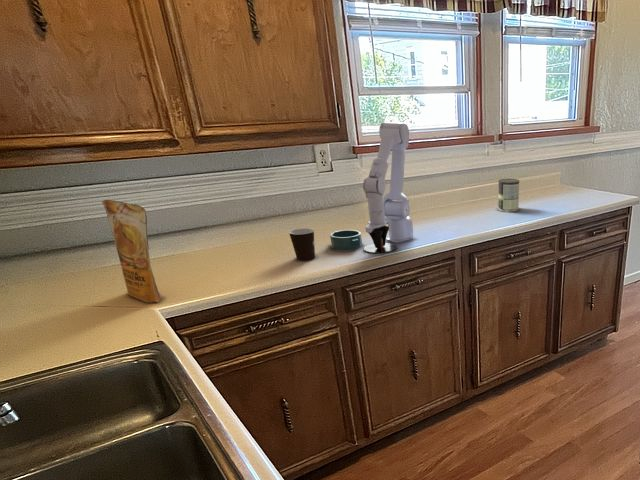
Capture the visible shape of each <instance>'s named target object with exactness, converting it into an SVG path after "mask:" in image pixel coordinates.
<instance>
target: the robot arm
mask: <svg viewBox="0 0 640 480" xmlns="http://www.w3.org/2000/svg"><path fill="white" fill-rule="evenodd" d="M378 133H379V137H380V143H379V147H378V152H377V157H376V158H374V159H373V160H372V163H371V167H370V169H369V172H368V176H367V177H366V178H364V180H363V183H362V189H363V191H364V194H365V198H366V199H367V207H368V216H369V217H368V218H369V221H368V222H367V226H365V233H368V235H369V236H370V238H371V239H372V242H373V244H374V245H375V248H381V238H383V246H385V243H387V242H386V241H387V240H388V241H390V242H393V243H400V242H405V241H409V240H410V241H411V240H414V239H415V237H414V225H413V220H412V218H411V217H410V216H409V215H410V212H411V208H410V199H409V198H408V196H406V195H405V194H404V181H405V164H406V151H407V150H406V149H407V148H409V143H410V128H409V125H408V124H407V123H406V122H405V121H403V122H393V121H392V122H391V121H390V122H387V121H382V122H381V123H380V124H379V130H378ZM390 154H391V165H390V181H389V182H390V183H389V192H388V193H386V195H384V193H385V191H386V176H387V172H388V170H389V169H388V168H389V163H388V159H389V156H390ZM387 235H388V237H387Z"/></svg>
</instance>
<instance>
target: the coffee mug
mask: <svg viewBox="0 0 640 480" xmlns="http://www.w3.org/2000/svg"><path fill="white" fill-rule="evenodd" d="M288 234H289V237H290V241H291V244H292V247H293V250H294V253H295V256H296V259H297V261H300V262H308V261H312V260H315V259H316V252H315V251H316V248H315V245H316V244H315V230H314V229H313V228H309V227H308V228H307V227H305V228H295V229H291V230H289V231H288Z"/></svg>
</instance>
